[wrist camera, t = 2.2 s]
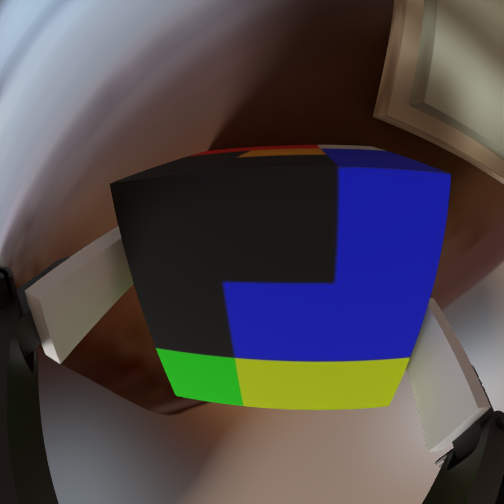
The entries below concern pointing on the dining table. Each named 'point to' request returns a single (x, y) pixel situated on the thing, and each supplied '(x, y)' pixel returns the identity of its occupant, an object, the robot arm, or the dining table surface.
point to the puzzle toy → (285, 270)
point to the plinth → (400, 90)
